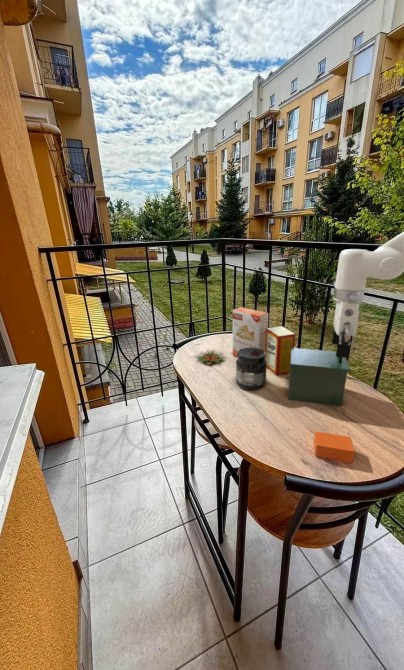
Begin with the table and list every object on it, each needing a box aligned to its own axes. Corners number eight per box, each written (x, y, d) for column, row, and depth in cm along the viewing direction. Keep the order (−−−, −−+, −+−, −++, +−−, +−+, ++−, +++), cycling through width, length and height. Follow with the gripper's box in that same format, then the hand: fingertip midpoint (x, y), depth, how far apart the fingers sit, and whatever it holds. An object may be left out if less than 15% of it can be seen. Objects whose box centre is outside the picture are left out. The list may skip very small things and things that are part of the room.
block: (348, 447, 69) (350, 436, 68) (352, 463, 64) (354, 451, 63) (313, 442, 71) (315, 431, 70) (315, 456, 67) (316, 445, 66)
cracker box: (231, 355, 122) (231, 309, 114) (240, 351, 125) (241, 306, 118) (257, 366, 112) (259, 315, 104) (266, 361, 115) (269, 312, 108)
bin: (336, 385, 96) (340, 354, 92) (341, 406, 85) (347, 372, 80) (288, 380, 100) (291, 350, 96) (287, 399, 89) (290, 366, 85)
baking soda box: (264, 364, 112) (266, 327, 107) (279, 362, 114) (281, 325, 108) (276, 375, 104) (278, 335, 98) (292, 372, 105) (295, 333, 100)
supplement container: (256, 374, 106) (257, 344, 101) (271, 387, 96) (273, 355, 92) (230, 379, 102) (230, 349, 98) (244, 394, 93) (245, 361, 89)
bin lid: (343, 354, 91) (345, 338, 90) (350, 372, 80) (353, 355, 78) (291, 350, 96) (292, 335, 94) (290, 366, 85) (291, 350, 83)
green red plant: (191, 358, 120) (190, 349, 119) (213, 351, 126) (213, 342, 125) (206, 369, 111) (206, 358, 109) (230, 360, 117) (230, 350, 115)
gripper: (370, 303, 70) (358, 364, 76) (357, 289, 86) (348, 340, 92) (338, 301, 73) (329, 361, 79) (330, 288, 88) (323, 338, 94)
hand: (339, 350), depth 85 cm, fingers open, 9 cm apart
